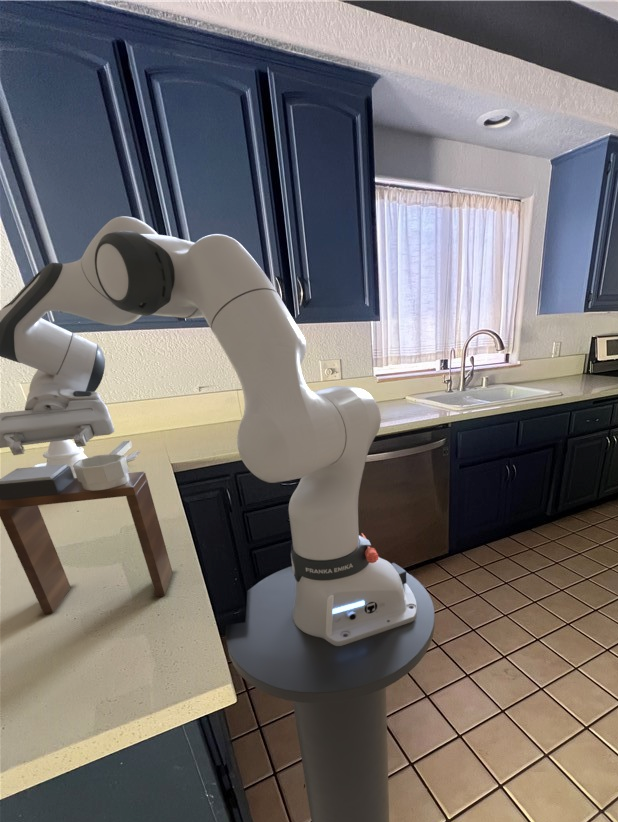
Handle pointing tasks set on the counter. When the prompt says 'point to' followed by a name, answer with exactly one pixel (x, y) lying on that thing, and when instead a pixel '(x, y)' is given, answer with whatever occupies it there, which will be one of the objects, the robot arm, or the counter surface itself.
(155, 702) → the counter surface
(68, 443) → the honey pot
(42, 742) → the counter surface
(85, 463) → the scoop bowl
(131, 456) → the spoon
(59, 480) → the kitchen scale
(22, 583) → the counter surface
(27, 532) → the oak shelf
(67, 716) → the counter surface
